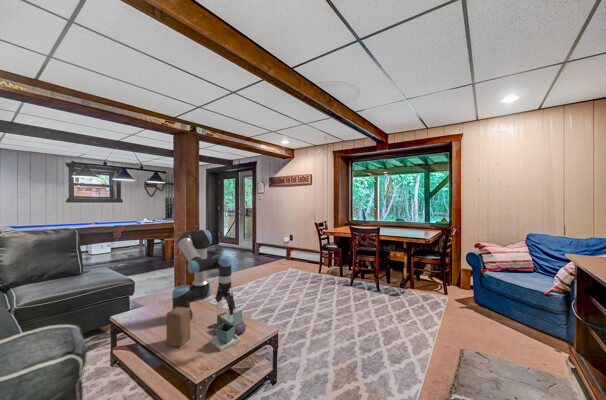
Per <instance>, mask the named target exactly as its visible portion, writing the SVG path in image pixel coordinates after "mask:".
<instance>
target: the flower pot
mask: <svg viewBox="0 0 606 400" xmlns="http://www.w3.org/2000/svg"><path fill="white" fill-rule="evenodd" d="M235 326H236V325H232V324H228V323H223V324H222V325H221V326H219V325H218V327H216V329H215V336H217V339H218V341H219V342H220V343H224V344H227V343H229V342H230V341H231V340H232V338H233V336H234V333H235Z"/></svg>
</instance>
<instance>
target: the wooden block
mask: <svg viewBox="0 0 606 400" xmlns="http://www.w3.org/2000/svg"><path fill="white" fill-rule="evenodd" d="M190 308H191V307H190ZM190 308H185V307H176V308H174V309H173V308H172V309H171V310H169V311H168V312H167V313H166V319H165V320H166V322H165V323H166V345H167V346H170V347H176V348H177V347H178V348H179V347H182V346H183V345H184V344H185V343H187V342H188V341H189V340H190V339H191V319H190Z"/></svg>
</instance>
